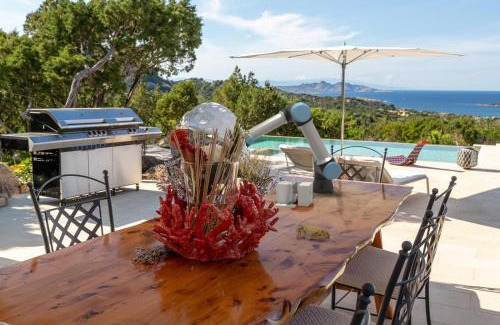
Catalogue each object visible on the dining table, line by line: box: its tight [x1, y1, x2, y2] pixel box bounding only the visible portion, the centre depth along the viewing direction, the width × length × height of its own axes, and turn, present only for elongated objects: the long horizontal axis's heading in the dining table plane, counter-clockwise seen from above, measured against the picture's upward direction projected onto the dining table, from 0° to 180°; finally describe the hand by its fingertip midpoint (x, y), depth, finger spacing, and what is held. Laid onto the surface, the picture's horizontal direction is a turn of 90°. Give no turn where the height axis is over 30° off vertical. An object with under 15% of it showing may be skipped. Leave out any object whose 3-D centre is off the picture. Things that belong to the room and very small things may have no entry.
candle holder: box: [275, 180, 293, 204], centre depth 278 cm, size 10×10×12 cm
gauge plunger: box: [288, 181, 298, 205], centre depth 272 cm, size 10×18×12 cm, turn 161°
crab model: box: [295, 224, 331, 242], centre depth 207 cm, size 16×13×6 cm
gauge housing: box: [274, 181, 314, 209], centre depth 273 cm, size 18×18×12 cm
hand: (268, 193), depth 281 cm, fingers closed
